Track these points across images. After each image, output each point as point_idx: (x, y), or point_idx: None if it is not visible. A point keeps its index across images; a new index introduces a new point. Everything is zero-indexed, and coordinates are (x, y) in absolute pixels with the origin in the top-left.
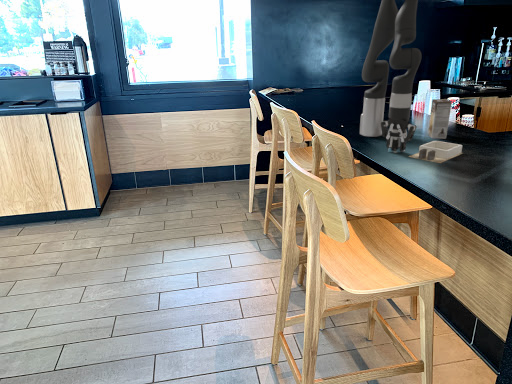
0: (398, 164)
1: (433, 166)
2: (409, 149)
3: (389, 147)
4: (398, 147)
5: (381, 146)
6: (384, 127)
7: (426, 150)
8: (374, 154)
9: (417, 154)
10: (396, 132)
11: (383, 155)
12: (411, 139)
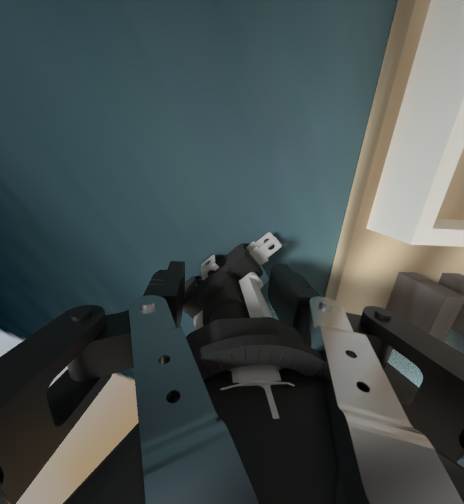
0: None
1: None
2: (243, 69)
3: (194, 310)
4: (243, 270)
5: (15, 129)
6: (9, 501)
7: (455, 296)
8: None
9: (364, 253)
10: None
11: (189, 323)
12: (389, 318)
